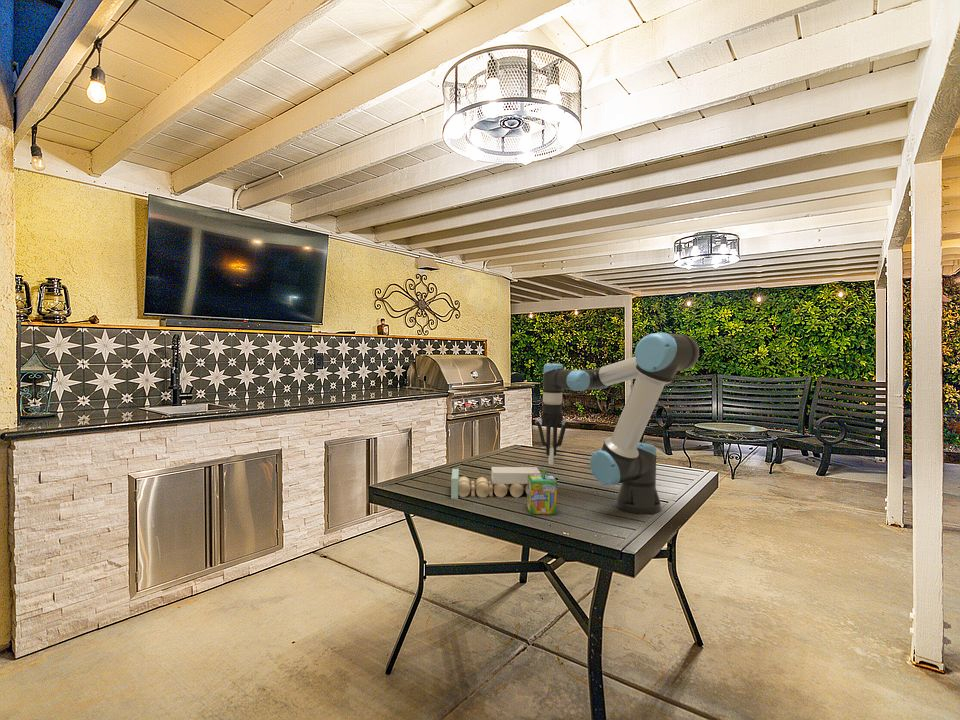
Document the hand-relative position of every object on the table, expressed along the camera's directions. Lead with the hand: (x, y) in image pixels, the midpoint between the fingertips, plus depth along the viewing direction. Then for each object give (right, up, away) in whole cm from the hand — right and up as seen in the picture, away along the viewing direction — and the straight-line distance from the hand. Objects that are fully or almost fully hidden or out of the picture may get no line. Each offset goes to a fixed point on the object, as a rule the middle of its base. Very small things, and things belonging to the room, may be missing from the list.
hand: (550, 463), depth 190 cm
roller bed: (-21, -11, -1) cm, 24 cm away
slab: (-14, -6, -1) cm, 15 cm away
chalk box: (-6, -12, -21) cm, 25 cm away
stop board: (-37, -11, -1) cm, 39 cm away
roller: (-27, -11, -1) cm, 29 cm away
